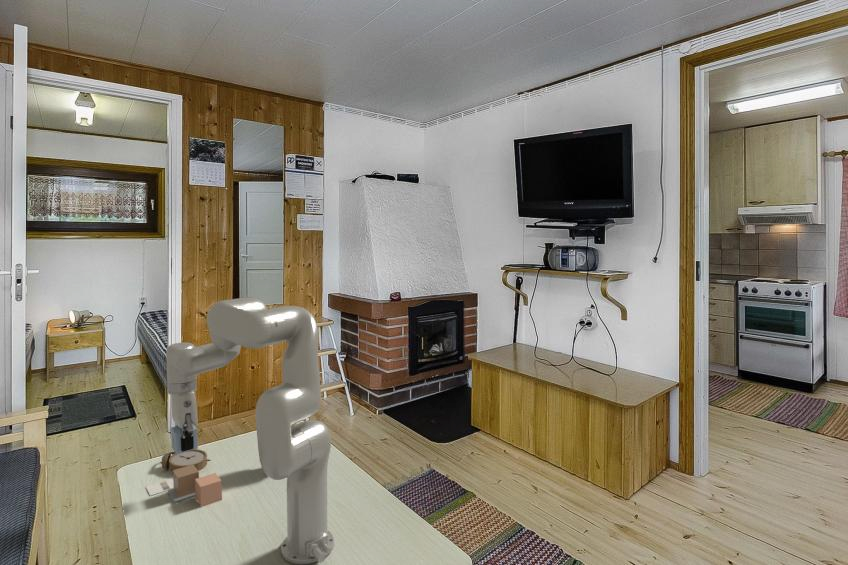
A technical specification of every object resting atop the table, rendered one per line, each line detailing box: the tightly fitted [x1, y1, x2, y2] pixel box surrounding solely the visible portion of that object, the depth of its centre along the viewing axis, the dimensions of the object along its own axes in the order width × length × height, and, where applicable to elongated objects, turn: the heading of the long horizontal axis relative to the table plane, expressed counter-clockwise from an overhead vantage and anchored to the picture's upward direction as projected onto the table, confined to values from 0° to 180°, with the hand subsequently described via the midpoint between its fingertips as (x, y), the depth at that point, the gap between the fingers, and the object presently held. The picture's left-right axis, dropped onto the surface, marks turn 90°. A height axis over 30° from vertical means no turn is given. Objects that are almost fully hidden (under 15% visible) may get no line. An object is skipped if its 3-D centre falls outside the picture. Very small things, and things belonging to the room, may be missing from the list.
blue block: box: [170, 423, 199, 454], centre depth 136 cm, size 6×6×6 cm
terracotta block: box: [195, 472, 223, 508], centre depth 134 cm, size 6×6×6 cm
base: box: [167, 465, 200, 505], centre depth 137 cm, size 8×8×7 cm
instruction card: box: [145, 478, 174, 497], centre depth 141 cm, size 6×9×1 cm, turn 131°
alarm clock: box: [160, 448, 211, 474], centre depth 153 cm, size 11×5×15 cm
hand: (184, 445), depth 136 cm, fingers closed on blue block, 5 cm apart
